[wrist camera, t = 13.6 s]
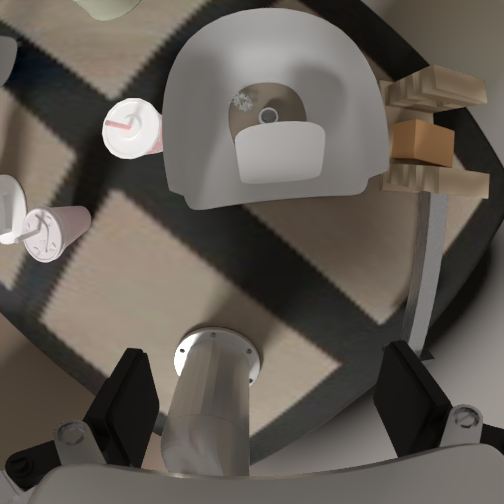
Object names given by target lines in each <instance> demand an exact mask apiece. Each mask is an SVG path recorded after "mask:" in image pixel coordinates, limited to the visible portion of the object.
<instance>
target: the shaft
mask: <svg viewBox="0 0 504 504" xmlns="http://www.w3.org/2000/svg"><path fill="white" fill-rule="evenodd" d="M447 204H448V195H445V194H436V193H432V192H428V191H423V190H420V199H419V214H418V226H417V237H416V246H415V254H414V262H413V269H412V276H411V283H410V289H409V295H408V300H407V306H406V311H405V316H404V321H403V326H402V331H401V335H400V340H405V341H406V342H407V344H408V345H409V346H410V348H411V349H412V350H413V352H414V353H415V354H416V355H417V357H418V358H419V359H420V361H421V362H422V363H423V365H428V364H433V363H434V360H435V358H434V357H433V356H432V355H431V353H430V352H429V351H428V350H427V348H426V347H425V346H424V345H423V344H424V341H425V337H426V333H427V329H428V325H429V321H430V317H431V312H432V308H433V303H434V298H435V293H436V288H437V283H438V277H439V271H440V265H441V259H442V252H443V244H444V236H445V227H446V217H447ZM400 340H399V341H400ZM386 346H389V344H385V345H383V347H382V350H383V352H385V348H386Z"/></svg>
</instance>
